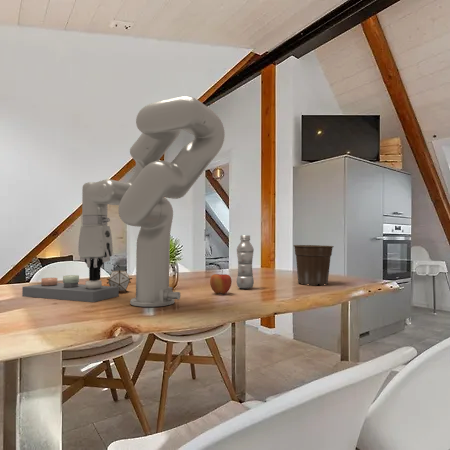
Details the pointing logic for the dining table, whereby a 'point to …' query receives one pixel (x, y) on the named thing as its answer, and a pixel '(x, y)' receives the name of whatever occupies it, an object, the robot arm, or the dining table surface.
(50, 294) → the board
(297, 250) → the plant pot
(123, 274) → the game die
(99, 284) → the cream button
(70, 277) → the sage button
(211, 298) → the dining table surface
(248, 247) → the plastic bottle
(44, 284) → the terracotta button
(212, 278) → the apple
